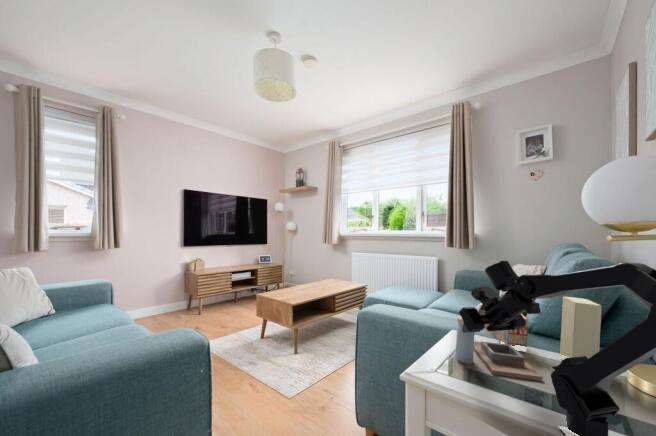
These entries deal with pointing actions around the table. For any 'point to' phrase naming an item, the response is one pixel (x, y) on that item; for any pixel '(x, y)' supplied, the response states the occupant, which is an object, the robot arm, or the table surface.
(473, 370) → the table surface
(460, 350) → the peach-capped cylinder
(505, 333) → the stack of blocks
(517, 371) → the jig board
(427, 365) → the table surface
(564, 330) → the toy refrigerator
